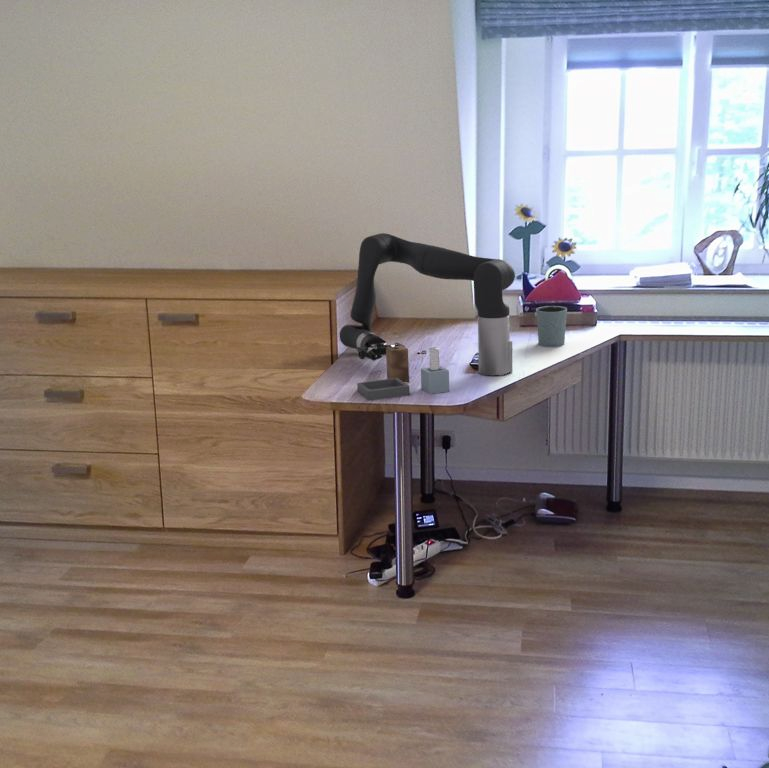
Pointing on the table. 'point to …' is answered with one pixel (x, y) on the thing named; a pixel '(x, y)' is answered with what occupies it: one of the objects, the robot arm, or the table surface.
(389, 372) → the walnut block
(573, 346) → the table surface
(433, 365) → the cylinder
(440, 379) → the square socket block
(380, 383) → the tray
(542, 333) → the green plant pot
